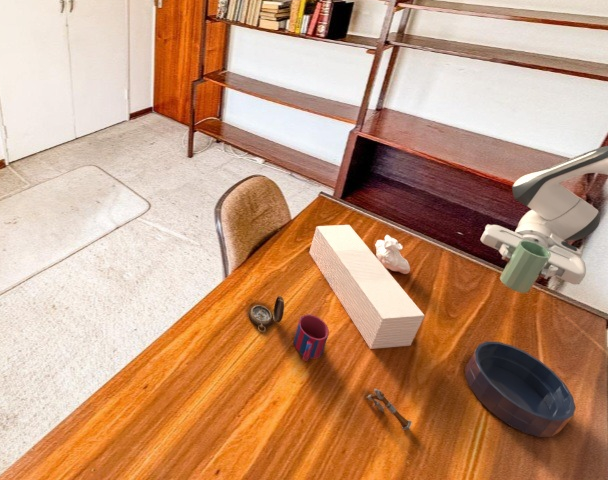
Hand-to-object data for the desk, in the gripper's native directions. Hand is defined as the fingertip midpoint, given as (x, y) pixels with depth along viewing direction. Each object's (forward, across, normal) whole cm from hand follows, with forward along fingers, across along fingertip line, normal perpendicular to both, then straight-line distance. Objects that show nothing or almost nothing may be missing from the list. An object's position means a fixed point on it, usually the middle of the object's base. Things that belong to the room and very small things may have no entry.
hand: (524, 266), depth 100 cm
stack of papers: (+25, -28, +17) cm, 41 cm away
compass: (+52, -39, +17) cm, 67 cm away
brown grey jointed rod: (+51, -10, +17) cm, 54 cm away
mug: (+51, -28, +17) cm, 61 cm away
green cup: (-1, 0, +7) cm, 7 cm away
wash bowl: (+25, +7, +17) cm, 31 cm away
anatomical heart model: (+5, -26, +17) cm, 32 cm away
